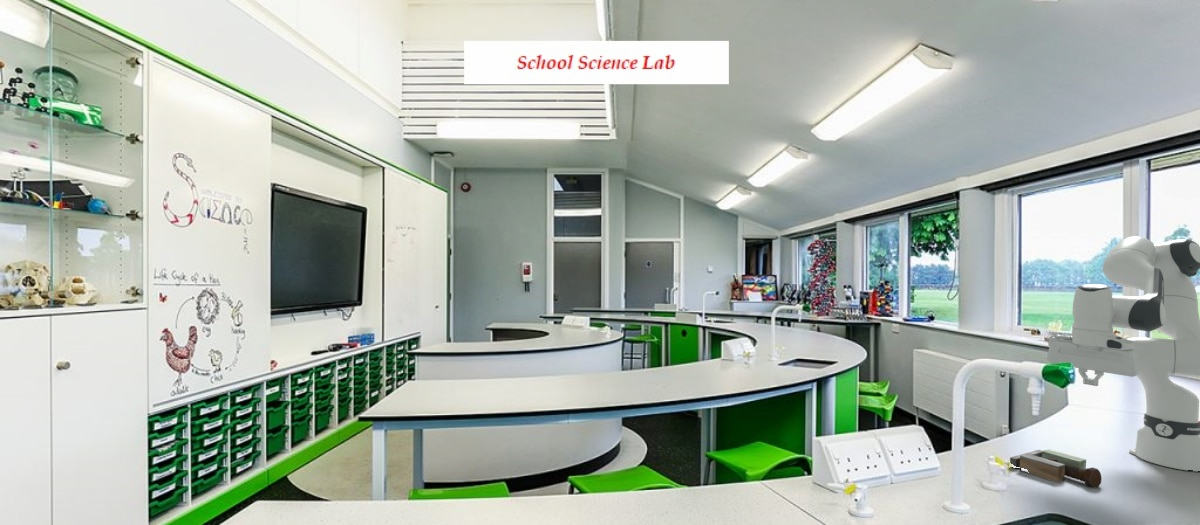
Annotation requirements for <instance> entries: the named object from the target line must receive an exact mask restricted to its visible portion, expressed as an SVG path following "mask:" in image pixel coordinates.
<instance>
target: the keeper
mask: <svg viewBox="0 0 1200 525" xmlns="http://www.w3.org/2000/svg"><path fill="white" fill-rule="evenodd" d="M1037 456H1038V457H1037ZM1041 457H1042V458H1041ZM1048 457H1052V458H1055V459H1057V460H1058V462H1059V463H1058V462H1055V461H1051V460H1048V459H1046V458H1048ZM1044 458H1045V459H1044ZM1010 463H1011V464H1013V465H1014V466H1016V467H1020V468H1024V469H1027V470H1028V472H1029V473H1028V474H1029V475H1033V476H1035V475H1036V476H1035V477H1039V478H1041V477H1042V479H1046V480H1048V479H1049V480H1048V481H1052V482H1054V481H1055V482H1054V483H1057V482H1058V483H1060V481H1061V482H1063V480H1064V481H1065V477H1066V476H1065V464H1066V465H1070V466H1073V467H1077V468H1080V469H1085V470H1086V469H1087V459H1086V458H1081V457H1078V456H1075V455H1071V454H1067V453H1063V452H1061V451H1056V450H1053V449H1044V450H1042V449H1036V450H1033V451H1028V452H1025V453H1022V454H1018V455H1015V456H1010V458H1009V464H1010ZM1061 463H1062V464H1061ZM1020 468H1019V469H1020Z"/></svg>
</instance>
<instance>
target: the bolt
mask: <svg viewBox="0 0 1200 525" xmlns="http://www.w3.org/2000/svg"><path fill="white" fill-rule="evenodd" d="M1037 457H1038V456H1037ZM1041 458H1042V457H1041ZM1044 459H1045V458H1044ZM1046 459H1048V460H1051V461H1055V462H1058V460H1057V459H1055V458H1052V457H1048V458H1046ZM1058 463H1059V462H1058ZM1061 464H1062V463H1061ZM1064 477H1068V478H1072V479H1073V480H1074V479H1075V480H1078V481H1080V482H1083V483H1084V484H1085V486H1086V487H1087V486H1088V487H1087V488H1090V487H1091V489H1096V488H1097V489H1098V488H1099V487H1100V485H1101V484H1102V473H1101V472H1100V470H1099V469H1098V468H1096V467H1088V468H1087V467H1086V470H1085V469H1080V468H1077V467H1073V466H1070V465H1066V464H1065V476H1064Z"/></svg>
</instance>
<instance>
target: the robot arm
mask: <svg viewBox="0 0 1200 525" xmlns="http://www.w3.org/2000/svg"><path fill="white" fill-rule="evenodd" d="M1199 270H1200V245H1199V244H1198V243H1197V242H1196V241H1194V240H1191V239H1188V238H1186V239H1185V238H1183V239H1173V240H1172V241H1165V242H1163V241H1162V242H1158V243H1154V242H1153V241H1151V240H1150V239H1148V238H1146V237H1141V236H1129V237H1126V238H1123V239H1121V240H1120V241H1118V242H1117V244H1115V245H1114V246H1113V247H1112V248H1111V249H1110V251H1109V252H1108V254H1107V256H1106V257H1105V259H1104V261H1103V264H1102V272H1103V274H1104V276H1105V277H1106V278H1107V279H1108V280H1109V281H1111V282H1112V283H1114V284H1115V285H1118V286H1121V287H1126V288H1132V289H1136V290H1140V291H1143V295H1138V296H1137V295H1136V296H1135V295H1134V296H1133V295H1114V294H1113V291H1112V288H1111V286H1109V285H1105V284H1099V283H1089V284H1086V283H1085V284H1081V285H1079V286H1077V287H1076V289H1075V292H1074V295H1073V296H1074V297H1073V302H1072V316H1073V323H1072V328H1071V335H1061V334H1054V335H1051V336H1049V338H1047V339H1048V340H1047V341H1048V342H1047V343H1048V347H1049V348H1048V351H1047V359H1046V360H1047V362H1048V363H1049V364H1050V363H1059V362H1070V363H1072V364H1073V365H1074V367H1075V369H1078V373H1079V375H1080V376H1081V378H1082V383H1083V385H1088V386H1092V387H1098V386H1099V380H1100V379H1101V378H1102V377H1103V376H1104V374H1105V373H1107V374H1110V375H1111V374H1113V375H1118V376H1126V377H1130V378H1134V377H1137V378H1138V380H1139V381H1140V383H1141V385H1142V386H1143V389H1144V394H1145V403H1146V404H1145V407H1146V409H1145V410H1146V412H1145V413H1144V416H1143V425H1144V426H1143V427H1141V428H1139V429H1137V431H1136V441H1135V448H1130V449H1129V450H1128V453H1130V454H1131V455H1134V456H1136V457H1138V458H1140V459H1141V460H1144V461H1146V462H1148V463H1152V464H1156V465H1159V466H1162V467H1167V468H1171V469H1177V470H1183V471H1188V470H1193V471H1192V472H1198V471H1200V420H1199V417H1200V416H1199V415H1200V399H1199V397H1198V396H1197V394H1195V393H1194V392H1193V391H1191V390H1189V389H1187V388H1185V387H1183V386H1181V385H1179V384H1177V383H1175V382H1173V381H1172V380H1171V379H1170V376H1173V375H1175V376H1184V377H1191V378H1200V314H1199V302H1198V294H1197V291H1196V287H1195V285H1194V282H1193V280H1192V279H1191V278H1192V277H1194V276H1196V275H1197V273H1198V271H1199ZM1114 328H1120V329H1121V328H1122V329H1128V330H1129V329H1131V330H1136V331H1143V332H1149V333H1150V332H1152V331H1155V330H1156V331H1157V332H1159V333H1161V334H1163V335H1166V336H1168V337H1170V338H1172V339H1168V338H1157V337H1147V336H1146V337H1145V336H1143V337H1142V336H1141V337H1137V336H1136V337H1122V336H1119V335H1117V334H1114ZM1074 367H1073V368H1074ZM1088 371H1094V375H1096V376H1095V377H1093V378H1090V377H1089V376H1088V375H1087V372H1088Z"/></svg>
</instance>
